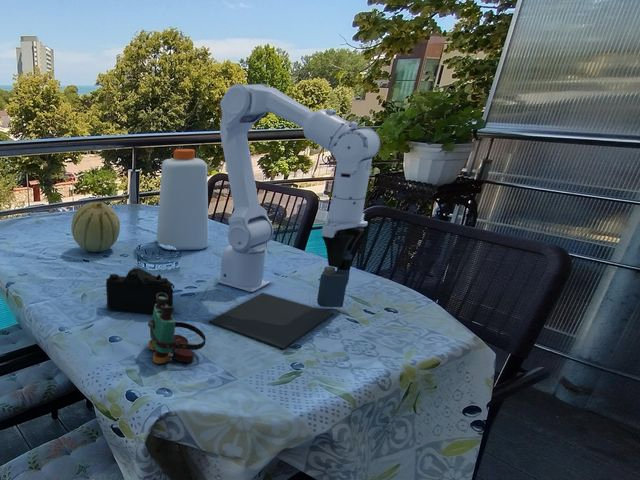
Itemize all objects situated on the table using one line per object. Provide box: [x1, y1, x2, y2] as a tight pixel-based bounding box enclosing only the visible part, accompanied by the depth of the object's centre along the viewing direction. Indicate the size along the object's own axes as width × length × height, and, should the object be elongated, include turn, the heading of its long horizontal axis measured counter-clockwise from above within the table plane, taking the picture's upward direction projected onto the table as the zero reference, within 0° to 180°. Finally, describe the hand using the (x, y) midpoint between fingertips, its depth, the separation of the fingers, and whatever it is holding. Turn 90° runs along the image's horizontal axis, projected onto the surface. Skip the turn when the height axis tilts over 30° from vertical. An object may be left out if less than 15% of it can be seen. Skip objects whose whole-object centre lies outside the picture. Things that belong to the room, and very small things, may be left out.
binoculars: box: [147, 292, 207, 365], centre depth 81 cm, size 9×11×10 cm
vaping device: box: [316, 250, 353, 308], centre depth 94 cm, size 3×5×12 cm, turn 79°
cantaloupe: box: [70, 201, 121, 253], centre depth 138 cm, size 15×15×15 cm
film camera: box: [105, 267, 175, 315], centre depth 101 cm, size 15×10×9 cm, turn 71°
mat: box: [209, 292, 334, 351], centre depth 94 cm, size 16×20×1 cm
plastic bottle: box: [156, 148, 210, 251], centre depth 138 cm, size 15×15×28 cm
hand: (337, 264), depth 93 cm, fingers closed on vaping device, 2 cm apart
